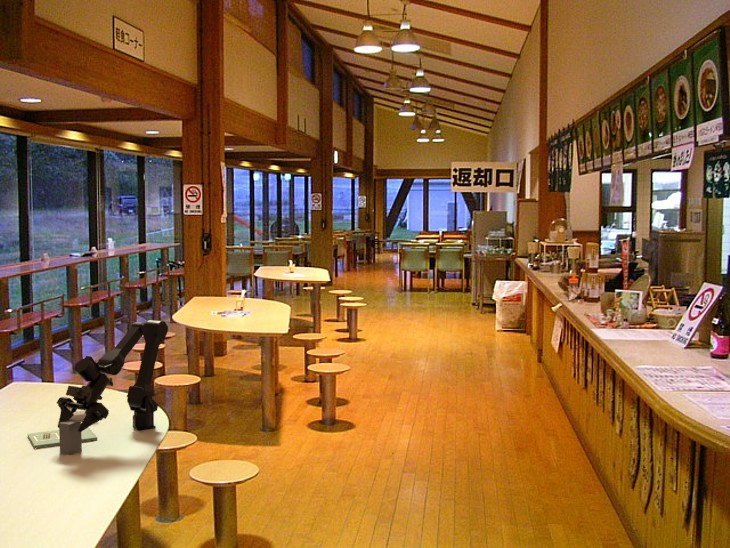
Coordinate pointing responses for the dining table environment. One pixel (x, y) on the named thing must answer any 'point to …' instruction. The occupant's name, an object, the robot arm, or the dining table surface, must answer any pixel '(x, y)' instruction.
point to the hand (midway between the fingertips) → (68, 429)
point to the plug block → (70, 437)
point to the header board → (56, 438)
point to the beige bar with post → (78, 415)
